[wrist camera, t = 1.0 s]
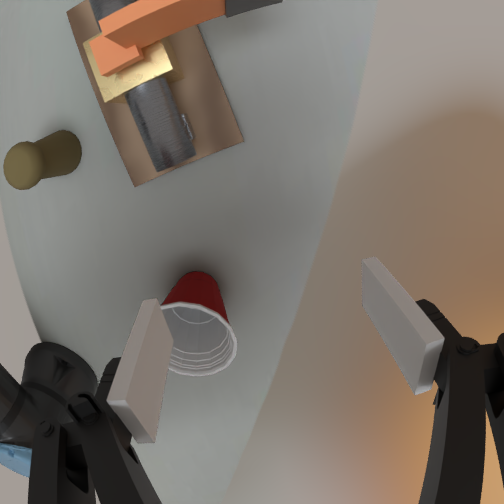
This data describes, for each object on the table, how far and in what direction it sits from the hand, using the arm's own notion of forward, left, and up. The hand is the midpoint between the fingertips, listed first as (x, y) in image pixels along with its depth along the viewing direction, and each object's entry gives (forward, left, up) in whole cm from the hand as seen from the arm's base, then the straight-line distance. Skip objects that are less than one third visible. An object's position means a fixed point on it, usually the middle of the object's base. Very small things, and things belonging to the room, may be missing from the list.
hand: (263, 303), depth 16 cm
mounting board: (-8, +17, -26) cm, 32 cm away
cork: (-22, +10, -26) cm, 36 cm away
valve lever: (-2, +18, -16) cm, 24 cm away
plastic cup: (-9, -13, -26) cm, 30 cm away
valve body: (-8, +17, -24) cm, 31 cm away
